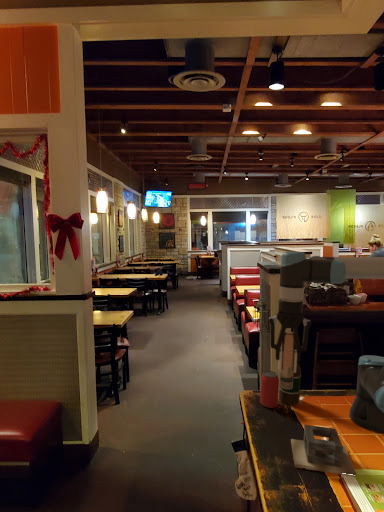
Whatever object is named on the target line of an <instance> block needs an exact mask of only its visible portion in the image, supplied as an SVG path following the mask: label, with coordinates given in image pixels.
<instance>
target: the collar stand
mask: <svg viewBox="0 0 384 512" xmlns="http://www.w3.org/2000/svg"><path fill="white" fill-rule="evenodd" d="M303 428H304V429H303V440H302V439H295V438H291V439H290V444H291V450H292V451H291V452H292V457H293V462H294V467H295V468H298V469H303V468H305V469H304V470H310V471H311V470H312V471H318V472H322V473H323V472H324V473H330V474H336V475H337V474H338V475H342V473H346V474H353V475H356V476H357V471H356V469H355V467H354V465H353V462H352V459H351V457H350V455H349V451H348V450H347V448H346V446H345V445H343V444H342V440H341V438H340V435H339V433H338V431H337V429H336V428H335V427H334V428H333V427H325V426H318V425H317V426H316V425H310V424H304V427H303ZM316 437H322V438H328V439H321V438H316Z"/></svg>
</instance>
